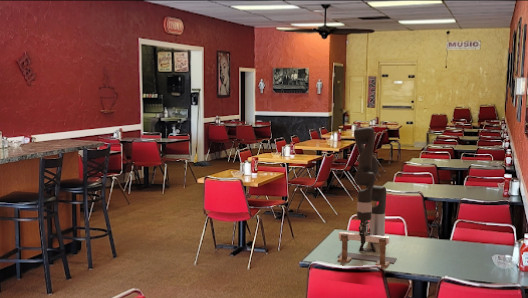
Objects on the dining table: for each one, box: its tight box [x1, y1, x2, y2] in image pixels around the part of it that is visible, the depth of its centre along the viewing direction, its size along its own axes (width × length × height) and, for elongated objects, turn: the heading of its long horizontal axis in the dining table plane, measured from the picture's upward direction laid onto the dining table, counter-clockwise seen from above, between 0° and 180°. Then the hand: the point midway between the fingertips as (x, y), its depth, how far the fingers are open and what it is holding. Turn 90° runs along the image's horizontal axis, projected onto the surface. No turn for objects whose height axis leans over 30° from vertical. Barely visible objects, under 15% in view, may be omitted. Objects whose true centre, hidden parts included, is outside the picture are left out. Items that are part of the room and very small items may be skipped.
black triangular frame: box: [358, 228, 376, 253], centre depth 320 cm, size 9×6×12 cm, turn 77°
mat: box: [337, 251, 397, 265], centre depth 306 cm, size 9×30×1 cm, turn 68°
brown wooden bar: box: [338, 231, 390, 245], centre depth 296 cm, size 3×26×3 cm, turn 68°
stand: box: [337, 231, 390, 269], centre depth 297 cm, size 6×26×15 cm, turn 68°
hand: (363, 242), depth 297 cm, fingers closed on brown wooden bar, 3 cm apart
